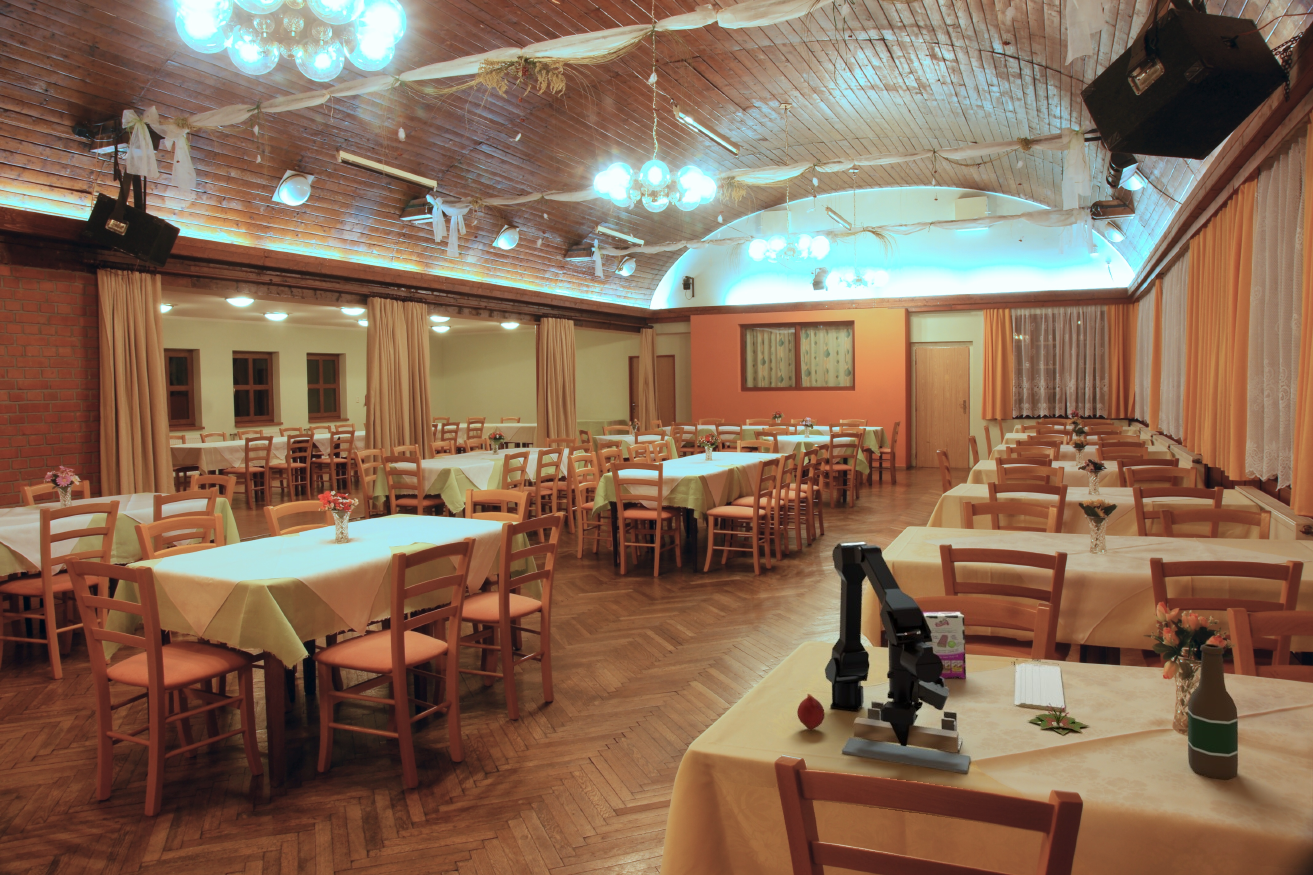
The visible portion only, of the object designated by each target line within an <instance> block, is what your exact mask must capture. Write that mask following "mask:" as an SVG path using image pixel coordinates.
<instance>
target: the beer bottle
mask: <svg viewBox="0 0 1313 875" xmlns="http://www.w3.org/2000/svg"><path fill="white" fill-rule="evenodd" d="M1199 650H1200V651H1201V659H1200V660H1201V661H1200V675H1199V676H1200V677H1199V682H1198V685H1197V687H1196V688H1195V689H1193V691H1192V692H1191V694H1190V696H1189V699H1188V705H1187V756H1188V765H1189V767H1190V768H1191V769H1192V770H1193V772H1194V773H1196V774H1198V775H1201V776H1204V777H1207V778H1208V779H1209V778H1210V779H1218V780H1225V781H1226V780H1230V779H1232V778H1235V777H1237V776H1238V770H1239V746H1238V745H1239V744H1238V743H1239V740H1238V739H1239V734H1238V733H1239V725H1238V723H1239V721H1238V718H1239V717H1238V709H1237V707H1236V704H1235V701H1234V699H1233V697H1232V696H1231V695H1230V694H1229V692H1228V691H1227V687H1226V683H1225V673H1224V672H1225V671H1224V659H1223V655H1224V654H1225V650H1224V648H1223V647H1222V646H1221V645H1218V644H1214V643H1205V644H1201V645H1200V648H1199Z"/></svg>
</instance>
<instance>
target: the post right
mask: <svg viewBox="0 0 1313 875" xmlns="http://www.w3.org/2000/svg"><path fill="white" fill-rule="evenodd" d="M957 713H958V712H957V711H951V710H943V717H941V720H940V722H941V729H943V730H950V731H958V717H957V715H958V714H957ZM958 741H959V747H958V751H957V752H956V753H960V751H961V747H962V743H963V738H962V737H959V736H958Z"/></svg>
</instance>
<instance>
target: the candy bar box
mask: <svg viewBox="0 0 1313 875" xmlns="http://www.w3.org/2000/svg"><path fill="white" fill-rule="evenodd" d="M923 614H924V617H925V619H926V621H927V623H928V626H929V628H930V630H931V632H932V633H931V637H932V642H925V644H927V645H931V646H932V647H933V653H935V654H936V655H938V656H939V657H940V659H941V661H942V663H943V671H942V674H941V676H940V677H942V678H944V679H966V678H967V666H966V665H967V664H966V663H967V662H966V660H967V659H966V635H965V634H966V632H965V630H966V629H965V615H964V614H962V612H961V611H923ZM919 633H921V632H920V631H919V632H917V634H919Z"/></svg>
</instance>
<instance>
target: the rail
mask: <svg viewBox="0 0 1313 875" xmlns="http://www.w3.org/2000/svg"><path fill="white" fill-rule="evenodd" d="M958 737H959V731H958V730H957V731H950V730H943V729H942V728H935V727H928V726H922V725H916V724H914V725H910V729H909V735H908V741H907V745H906V746H910V747H917V748H919V747H920V748H923V749H930V750H936V751H943V752H949V753H958V752H957V751H958V747H959V741H958ZM853 738H858V739H864V740H871V741H877V742H884V743H890V744H897V745H900V743H899V741H898V738H897V736H896V734H895V732H894V730H893V728H892V726H891V724H890V723H889V722H883V721H880V720H873V719H868V718H864V717H856V718H855V720H854V721H853Z"/></svg>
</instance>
